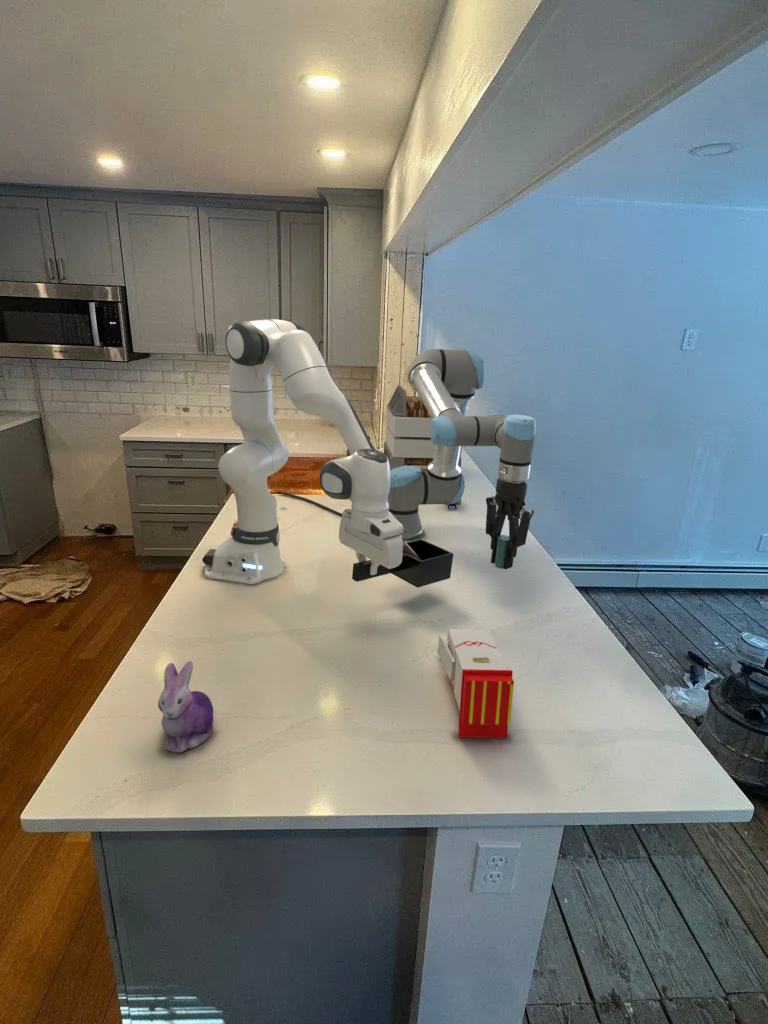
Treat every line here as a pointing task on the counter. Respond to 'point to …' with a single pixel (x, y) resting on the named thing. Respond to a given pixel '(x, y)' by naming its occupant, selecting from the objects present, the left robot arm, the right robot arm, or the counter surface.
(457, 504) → the figurine character
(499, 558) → the teal peg
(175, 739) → the figurine
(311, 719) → the counter surface
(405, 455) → the white slatted crate
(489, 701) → the toy
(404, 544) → the walnut peg
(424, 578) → the black box with handle
